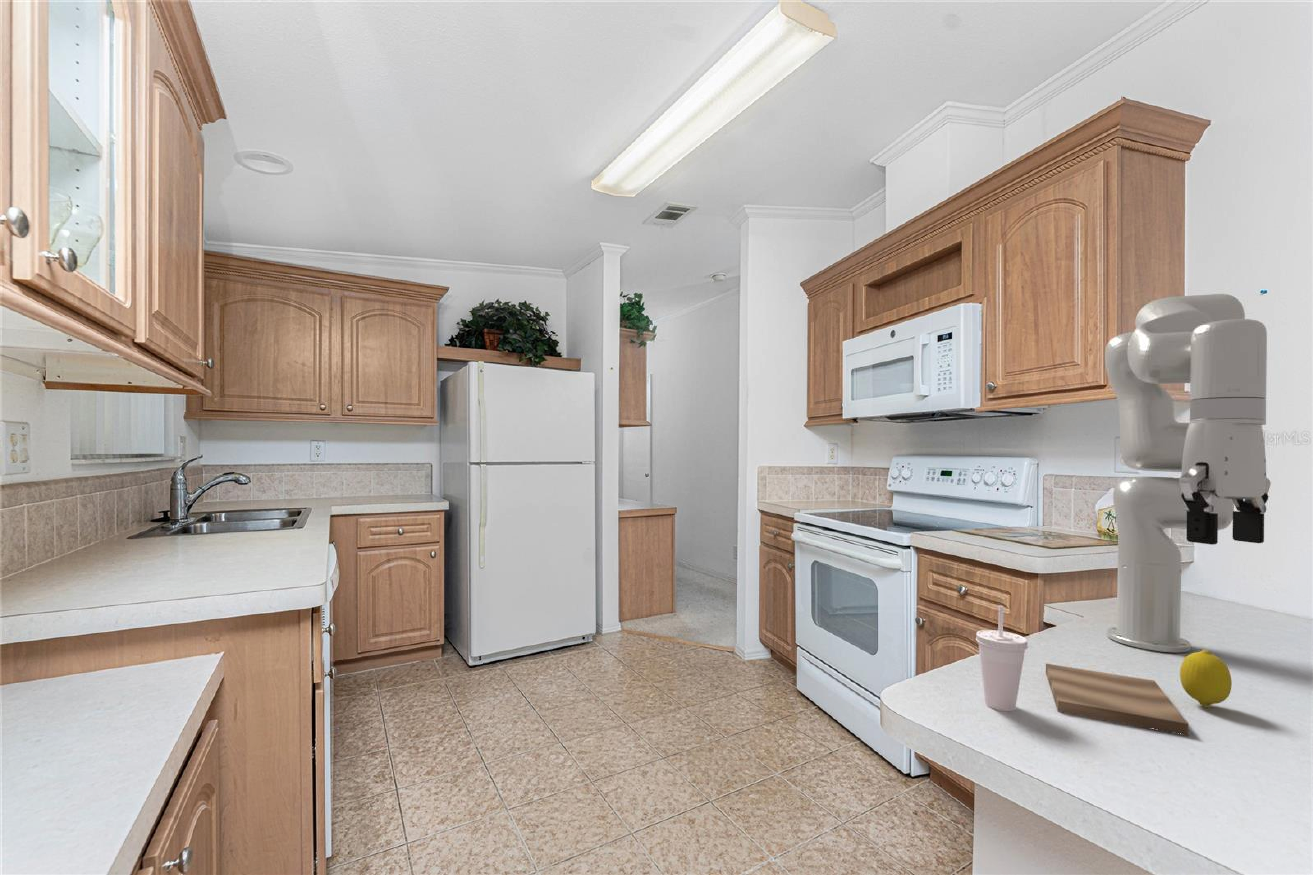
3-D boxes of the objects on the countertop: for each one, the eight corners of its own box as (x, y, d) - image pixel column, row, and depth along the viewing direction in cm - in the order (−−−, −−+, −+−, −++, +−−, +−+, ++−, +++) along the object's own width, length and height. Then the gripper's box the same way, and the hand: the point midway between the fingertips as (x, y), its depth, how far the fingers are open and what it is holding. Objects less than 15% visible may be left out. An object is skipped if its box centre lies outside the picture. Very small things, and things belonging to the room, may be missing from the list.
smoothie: (968, 705, 87) (970, 604, 87) (981, 692, 91) (983, 597, 91) (1020, 720, 82) (1022, 614, 82) (1031, 706, 87) (1033, 605, 87)
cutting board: (1045, 672, 100) (1045, 663, 100) (1154, 690, 94) (1154, 680, 94) (1057, 711, 85) (1057, 700, 85) (1188, 735, 79) (1188, 724, 79)
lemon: (1241, 717, 85) (1242, 658, 85) (1194, 712, 86) (1195, 654, 86) (1214, 701, 91) (1214, 646, 91) (1170, 696, 92) (1171, 642, 92)
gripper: (1232, 418, 89) (1231, 537, 89) (1152, 411, 83) (1151, 539, 83) (1301, 416, 82) (1300, 545, 82) (1219, 408, 76) (1217, 548, 76)
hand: (1225, 542), depth 82 cm, fingers open, 9 cm apart
